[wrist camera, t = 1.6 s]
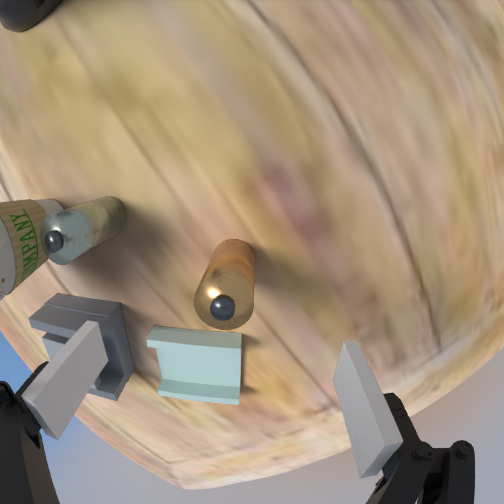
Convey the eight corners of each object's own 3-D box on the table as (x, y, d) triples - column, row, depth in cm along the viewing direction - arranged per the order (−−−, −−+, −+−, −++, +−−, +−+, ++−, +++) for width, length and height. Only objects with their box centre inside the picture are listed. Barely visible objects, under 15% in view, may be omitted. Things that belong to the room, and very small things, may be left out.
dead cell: (93, 196, 25) (31, 216, 16) (125, 195, 25) (67, 215, 16) (96, 233, 26) (39, 266, 17) (127, 234, 26) (74, 270, 17)
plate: (48, 330, 24) (41, 337, 23) (87, 340, 24) (81, 348, 23) (63, 370, 26) (58, 377, 25) (101, 381, 26) (96, 389, 25)
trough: (154, 325, 29) (146, 339, 27) (241, 333, 29) (240, 348, 27) (164, 380, 32) (158, 395, 30) (240, 388, 32) (239, 404, 30)
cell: (213, 238, 26) (190, 280, 17) (255, 240, 26) (254, 283, 17) (213, 277, 27) (193, 333, 18) (253, 279, 27) (252, 337, 18)
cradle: (57, 293, 29) (28, 317, 23) (120, 302, 29) (93, 333, 22) (75, 354, 32) (54, 381, 26) (134, 368, 32) (117, 401, 26)
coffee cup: (62, 279, 28) (-17, 344, 14) (18, 229, 26) (-65, 269, 12) (94, 219, 26) (-11, 271, 11) (43, 166, 24) (-59, 186, 9)
